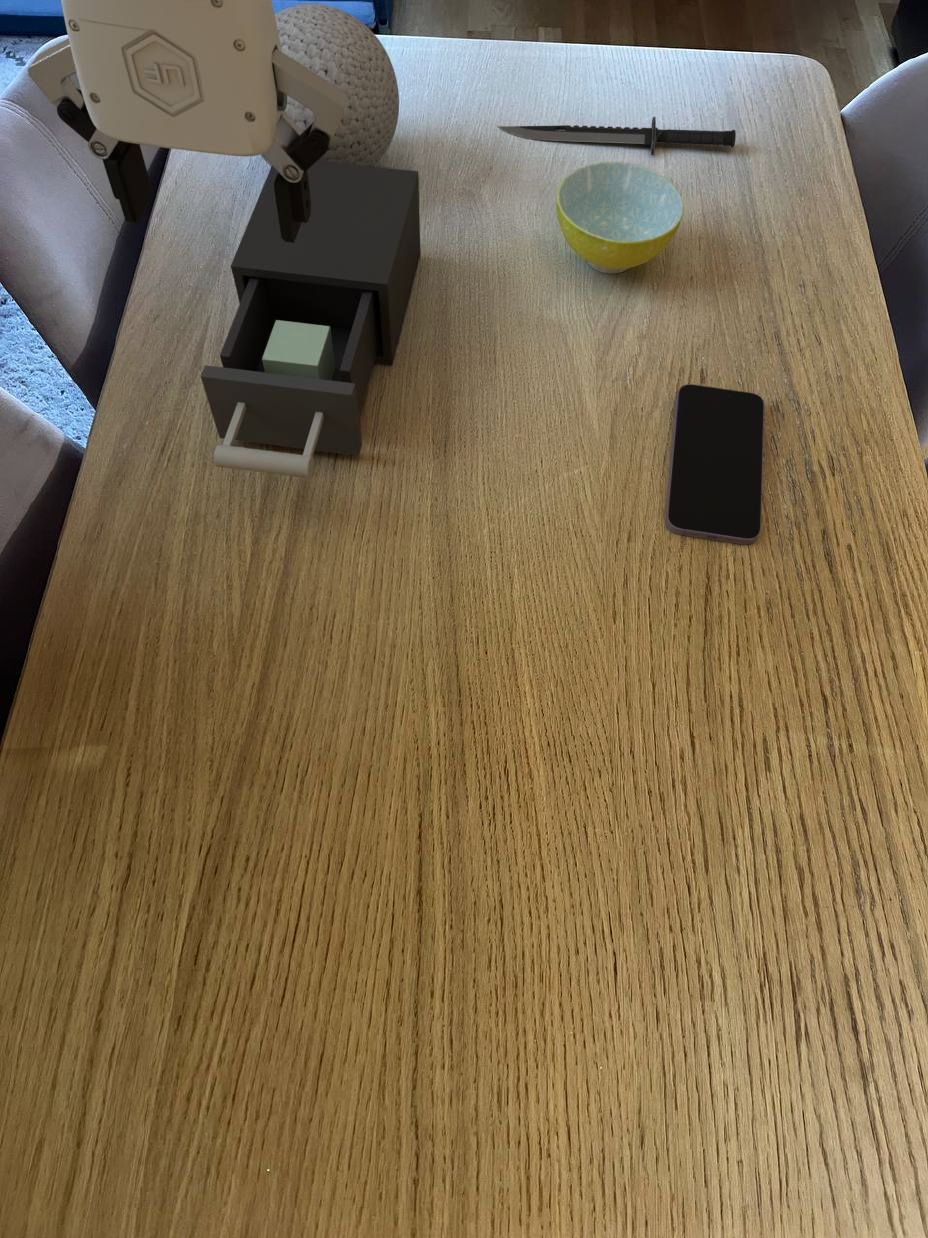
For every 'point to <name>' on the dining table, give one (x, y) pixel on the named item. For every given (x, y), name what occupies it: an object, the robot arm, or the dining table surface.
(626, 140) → the knife
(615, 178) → the bowl
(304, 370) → the block
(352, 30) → the decorative ball
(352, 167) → the cabinet
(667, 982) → the dining table surface
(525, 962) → the dining table surface
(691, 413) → the smartphone
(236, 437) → the drawer
